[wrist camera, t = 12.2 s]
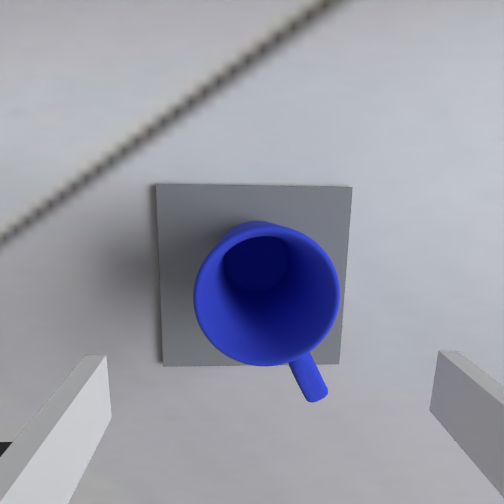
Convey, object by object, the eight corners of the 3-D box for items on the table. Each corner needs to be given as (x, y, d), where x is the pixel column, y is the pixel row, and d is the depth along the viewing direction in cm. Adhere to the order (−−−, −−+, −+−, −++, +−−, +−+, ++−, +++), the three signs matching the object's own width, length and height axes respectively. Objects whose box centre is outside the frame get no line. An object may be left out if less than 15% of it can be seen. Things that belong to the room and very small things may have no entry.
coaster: (157, 183, 27) (155, 183, 26) (350, 187, 28) (352, 187, 27) (164, 362, 30) (163, 366, 29) (337, 360, 31) (339, 364, 30)
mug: (253, 356, 30) (263, 440, 20) (189, 238, 27) (165, 268, 17) (336, 317, 29) (387, 383, 20) (279, 194, 27) (304, 199, 17)
